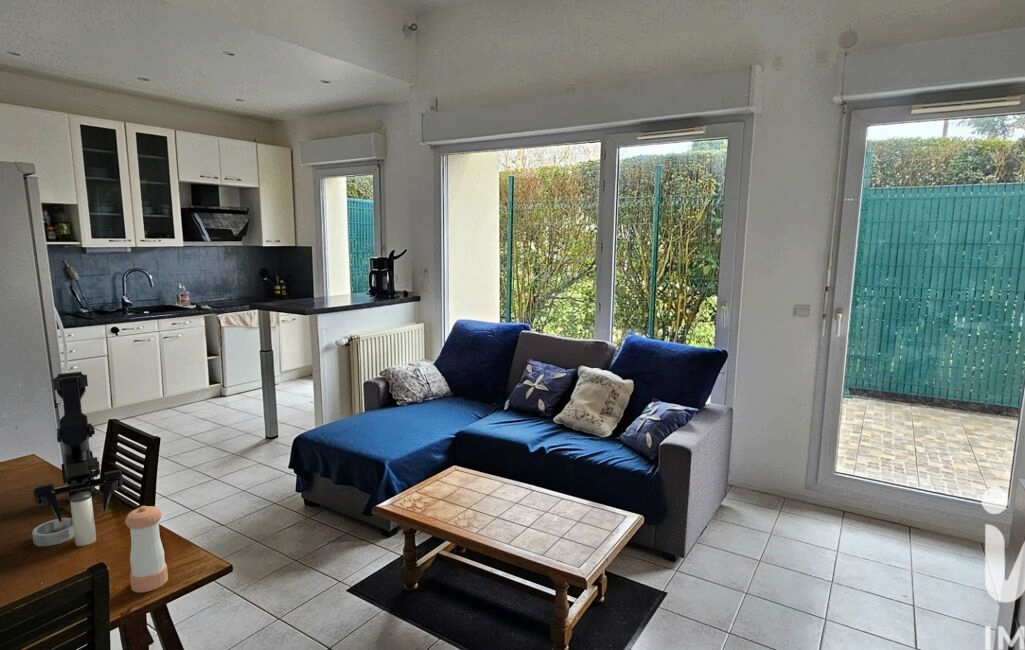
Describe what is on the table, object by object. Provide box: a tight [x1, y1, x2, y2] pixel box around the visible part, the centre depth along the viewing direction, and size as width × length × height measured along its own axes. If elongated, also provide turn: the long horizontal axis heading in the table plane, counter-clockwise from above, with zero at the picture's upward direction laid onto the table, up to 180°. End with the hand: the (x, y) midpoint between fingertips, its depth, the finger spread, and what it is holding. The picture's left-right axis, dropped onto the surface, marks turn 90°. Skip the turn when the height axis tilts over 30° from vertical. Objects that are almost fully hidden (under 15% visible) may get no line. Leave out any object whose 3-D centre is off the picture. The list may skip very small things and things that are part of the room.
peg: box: [69, 492, 97, 547], centre depth 147 cm, size 4×4×13 cm
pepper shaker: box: [124, 505, 169, 593], centre depth 130 cm, size 7×7×19 cm
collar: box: [31, 517, 75, 547], centre depth 150 cm, size 9×9×3 cm
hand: (83, 516), depth 146 cm, fingers open, 9 cm apart
